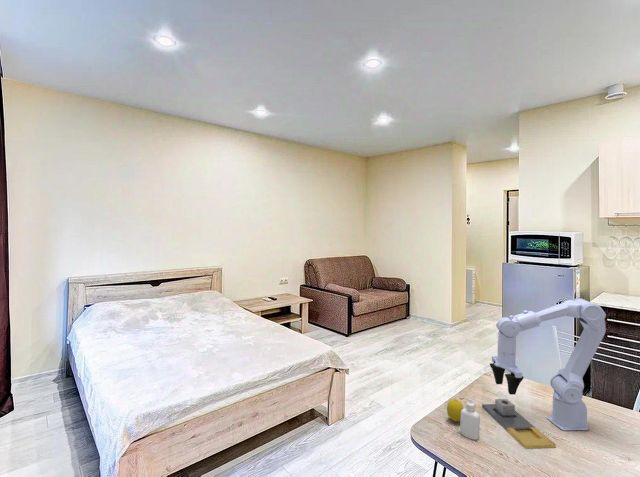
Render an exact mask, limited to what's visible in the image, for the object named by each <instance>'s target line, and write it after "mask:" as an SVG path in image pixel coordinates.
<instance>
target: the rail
mask: <svg viewBox="0 0 640 477" xmlns="http://www.w3.org/2000/svg"><path fill="white" fill-rule="evenodd" d="M481 407H482V409H483V410H485V411H486V412H487V413H488V414H489V416H490V417H492V418H493V419H494V420H495V421H496V422H497V423H498V424H499V425H500V426H501V427H502V428H503V429H504V430H505V431H506V432H507V433H509V434H510V436H512V437H513V439H515V440H516V441H517V442H518V443H519V444H520V445H521V446H522V447H523V448H524V449H549V448H550V449H551V448H552V449H553V448H556V446H557V444H556V443H555V442H554V441H553V440H551V439H550V438H549V437H548V436H547V435H545V434H544V433H543V432H542V431H540V430H539V429H538V428H537V427H536V426H535V425H534V424H532V423H531V422H530V421H528V420H527V419H526V418H525V417H523V415H521V413H519V412H518V411H517V410H515V416H514V417H509V418H501V417H500V416H499V415H498V414H497V413H496V412H495V403H492V404H491V403H489V404H488V403H486V404H485V403H484V404H481Z"/></svg>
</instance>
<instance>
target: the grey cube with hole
mask: <svg viewBox="0 0 640 477" xmlns="http://www.w3.org/2000/svg"><path fill="white" fill-rule="evenodd" d="M494 399H495V398H494ZM494 404H495V412H496V413H497V414H498V415H499V416H500V417H501V418H509V417H514V416H515V411H516V409H515V408H516V405H515V404H514V403H513V402H512V401H510V400H509V399H508V398H496V399H495V400H494Z"/></svg>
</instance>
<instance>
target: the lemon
mask: <svg viewBox="0 0 640 477" xmlns="http://www.w3.org/2000/svg"><path fill="white" fill-rule="evenodd" d="M462 409H465V408H464V406H463V404H462V402H461V401H459V400H458V399H457V398H454V399H450V400H449V401H448V403H447V406H446V413H447V416H448V418H449V419H450V420H452V421H453V422H454V423H456V422H460V420H461V410H462Z"/></svg>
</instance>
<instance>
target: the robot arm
mask: <svg viewBox="0 0 640 477" xmlns="http://www.w3.org/2000/svg"><path fill="white" fill-rule="evenodd" d="M565 316H567V317H571V318H573V319H574V318H575V319H578V321H579V322H580V324H581V325H582V327H583V330H582V332H581V333H580V336H579V338H578V339H577V343H576V344H575V346H574V348H573V350H572V352H571V354H570V356H569V358H568V360H567V362H566V364H565V366H564V368H561V369H559V370H558V372H557V373H556V374H555V375H553V376H552V377H551V379H550V382H549V383H550V386H551V388H552V390H553V392H552V411H551V412H552V413H551V414H552V415H547V416H546V415H545V418H546V419H547V420H548V421H550V423H552V424H553V425H554V426H556V427H557V428H559V429H560V430H562V431H565V432H566V431H589V427H587V423H588V422H587V421H588V408H587V405H586V403H585V402H584V401H583V395H584V394H583V391H584V388H585V383H584V380H583V378H584V376H585V374H586V372H587V370H588V368H589V366H590V363H591V362H592V360H593V358H594V356H595V354H596V352H597V350H598V348H599V346H600V345H601V342H602V340H603V338H604V337H605V334H606V331H607V330H606V329H607V328H606V321H605V319H606V316H607V314H606V312H605V311H604V309H603V308H602V307H601V306H600V305H599V304H597V303H593V302H590V301H588V300H587V299H584V298H581V297H578V298H577V297H576V298H573V299H569V300H566V301H564V302H561V303H559V304H556V305H553V306H551V307H547V308H545V309H543V310H540V311H537V312H534V311H532V310H526V309H525V310H522V313H518V314H516V315H512V314H511V315H509V317H503V316H502V317H501V318H499V319H498V320H497V322H496V323H495V326H496V328H497V330H498V334H497V353H496V354H497V355H492V356H491V361H492V363H489V366H490V368H491V371H492V374H493V377H494V381H495V385H503V381H504V376H505V378H506V382H507V391H508V394H509V395H516V393H517V390H518V388H519V386H520V385H521V382H522V381H523V380H524V376H523V372H522V371H521V370H520V369H519V368H518V366H517V364H516V357H517V356H516V355H517V354H516V353H517V336H518V334H519V333H521V332H524V331H528V330H530V329H531V330H532V329H534V328H537V327H540V325H541V323H542V322H545V321H546V322H547V321H549V320H550V321H551V320H553V319H557V318H558V319H559V318H561V317H565ZM505 371H508V372H509V373H505Z"/></svg>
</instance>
